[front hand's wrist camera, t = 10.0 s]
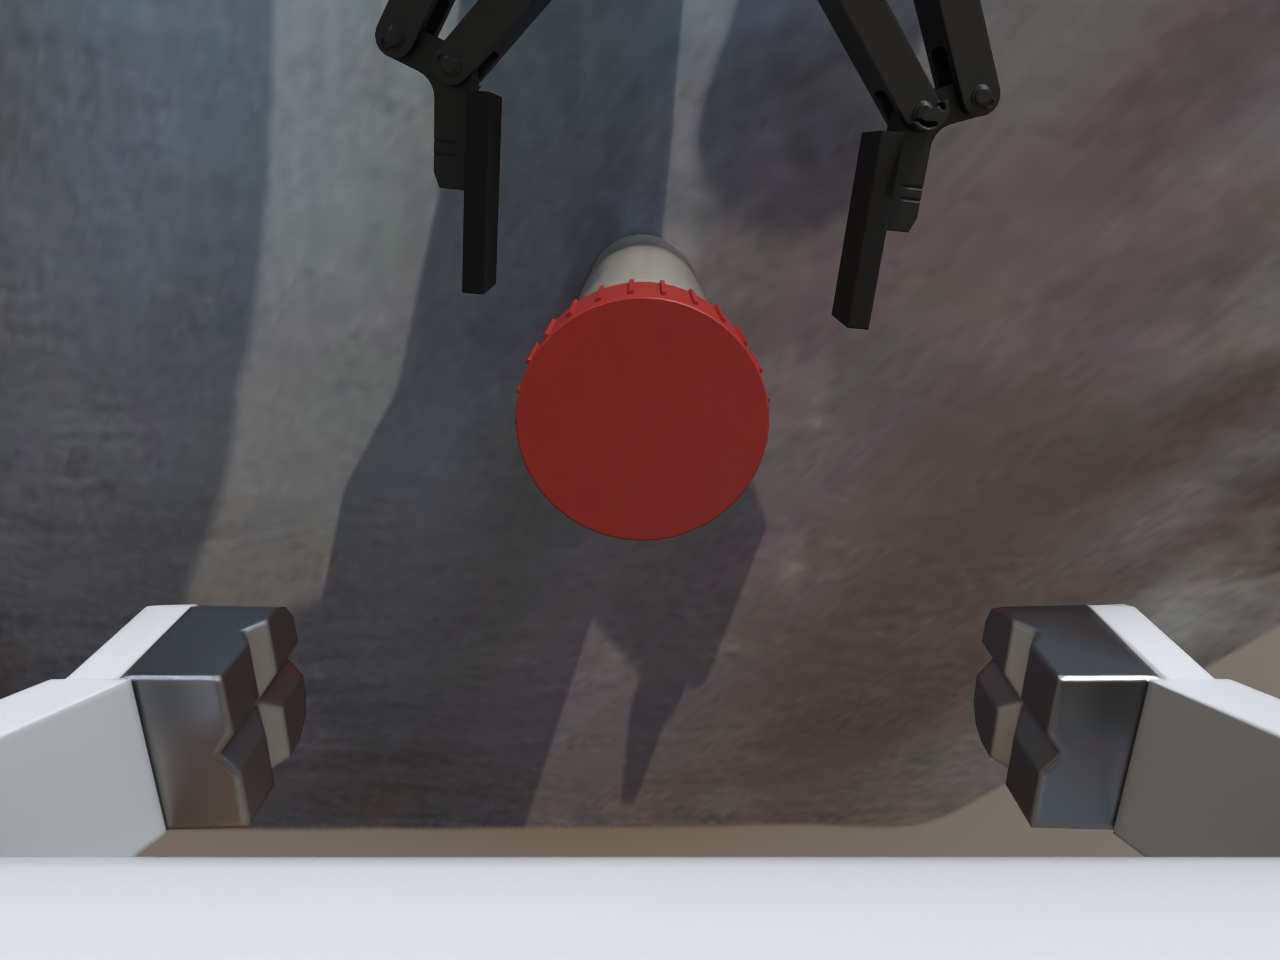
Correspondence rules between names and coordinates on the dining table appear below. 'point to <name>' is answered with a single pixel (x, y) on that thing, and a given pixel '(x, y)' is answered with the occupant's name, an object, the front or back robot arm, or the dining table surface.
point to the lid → (642, 412)
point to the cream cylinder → (641, 265)
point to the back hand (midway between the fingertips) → (665, 306)
